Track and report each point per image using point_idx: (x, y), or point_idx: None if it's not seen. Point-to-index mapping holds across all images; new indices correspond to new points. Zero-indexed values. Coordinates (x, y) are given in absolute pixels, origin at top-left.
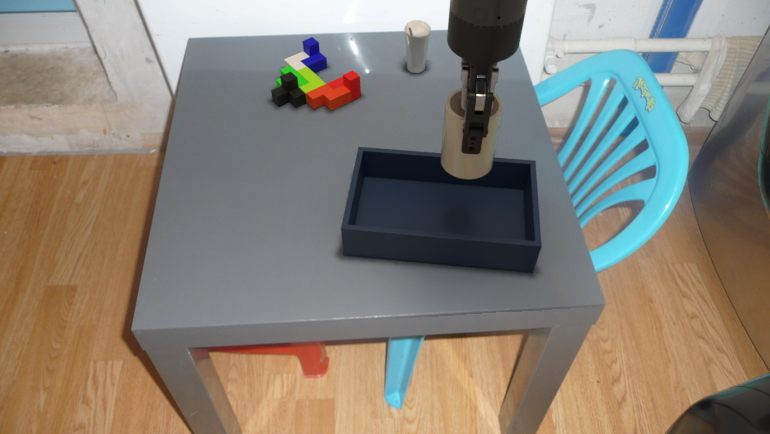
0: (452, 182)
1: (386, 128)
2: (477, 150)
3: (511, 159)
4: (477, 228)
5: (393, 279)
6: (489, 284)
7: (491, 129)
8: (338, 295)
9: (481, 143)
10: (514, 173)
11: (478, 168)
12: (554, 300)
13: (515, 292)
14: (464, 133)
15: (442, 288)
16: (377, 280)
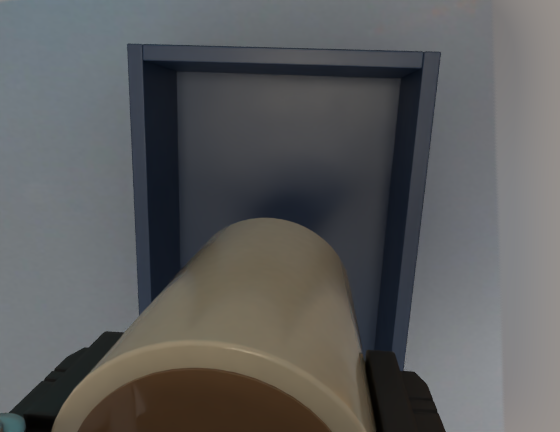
0: (177, 233)
1: (35, 361)
2: (427, 389)
3: (133, 112)
4: (301, 182)
5: (430, 339)
6: (443, 161)
7: (346, 364)
8: (464, 426)
9: (402, 384)
10: (158, 99)
11: (349, 289)
12: (487, 22)
13: (464, 107)
14: None
15: (452, 253)
16: (432, 366)
